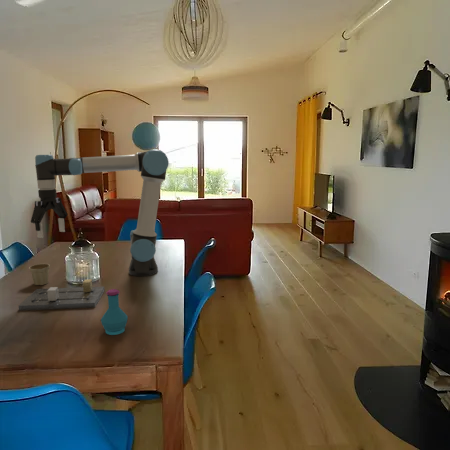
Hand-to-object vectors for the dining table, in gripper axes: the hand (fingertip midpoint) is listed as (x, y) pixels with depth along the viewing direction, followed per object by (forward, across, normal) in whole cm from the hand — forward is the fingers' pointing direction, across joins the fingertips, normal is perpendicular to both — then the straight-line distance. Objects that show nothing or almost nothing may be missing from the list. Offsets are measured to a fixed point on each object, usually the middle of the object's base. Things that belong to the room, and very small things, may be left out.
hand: (51, 234), depth 184 cm
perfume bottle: (+26, +31, +55) cm, 68 cm away
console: (+25, +13, +16) cm, 33 cm away
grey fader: (+23, +18, +15) cm, 33 cm away
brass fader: (+24, +5, +22) cm, 33 cm away
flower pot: (+25, -1, -11) cm, 28 cm away
